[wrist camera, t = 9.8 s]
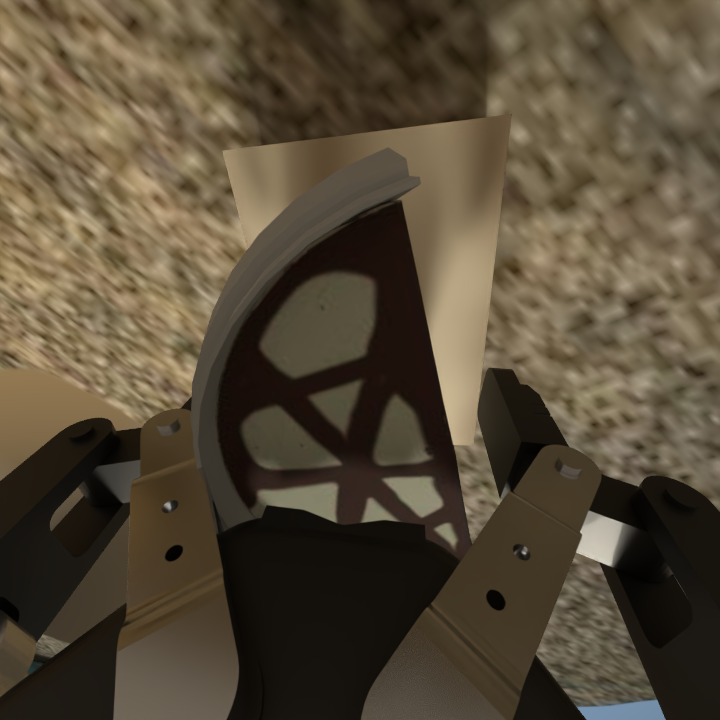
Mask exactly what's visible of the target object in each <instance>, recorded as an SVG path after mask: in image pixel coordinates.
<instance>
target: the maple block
mask: <svg viewBox="0 0 720 720" xmlns="http://www.w3.org/2000/svg"><path fill="white" fill-rule="evenodd" d="M511 116H512V114H510V115H502V116H494V117H486V118H478V119H470V120H462V121H454V122H446V123H438V124H430V125H422V126H414V127H406V128H399V129H391V130H383V131H375V132H367V133H359V134H351V135H343V136H335V137H327V138H319V139H311V140H303V141H295V142H287V143H280V144H272V145H264V146H256V147H248V148H240V149H232V150H224V151H223V155H224V159H225V163H226V167H227V170H228V174H229V178H230V182H231V186H232V190H233V194H234V197H235V201H236V205H237V209H238V213H239V217H240V221H241V224H242V228H243V232H244V236H245V240H246V244H247V248H249V247H250V246H251V244H252V243H253V241H254V240H255V239H256V237H257V236H258V235H259V233H261V232H262V231H263V230H264V229H265V228H266V227H267V226H268V225H269V224H270V223H271V222H272V221H273V220H274V219H275V218H276V217H277V216H278V215H279V214H280V213H281V212H282V211H283V210H284V209H285V208H287V207H288V206H289V205H290V204H291V203H292V202H293V201H294V200H295V199H296V198H298V197H299V196H301V195H302V194H304V193H305V192H307V191H308V190H310V189H311V188H312V187H314V186H315V185H317V184H318V183H320V182H321V181H323V180H324V179H326V178H327V177H329V176H330V175H332V174H333V173H335V172H336V171H338V170H339V169H341V168H343V167H346V166H348V165H350V164H352V163H354V162H357V161H359V160H361V159H363V158H365V157H368V156H370V155H372V154H374V153H376V152H378V151H381V150H383V149H385V148H387V147H389V148H390V149H392V150H393V151H395V152H397V153H398V154H400V155H401V156H403V157H404V158H406V160H407V165H408V171H409V176H415V177H420V181H421V184H420V185H418V186H417V187H415V188H414V189H412V190H411V191H409V192H408V193H406V194H405V195H403V196H401V197H400V198H398V199H397V200H402V204H403V209H404V214H405V218H406V223H407V228H408V232H409V237H410V242H411V246H412V251H413V256H414V260H415V265H416V270H417V274H418V279H419V284H420V289H421V294H422V299H423V304H424V309H425V314H426V319H427V324H428V329H429V333H430V338H431V343H432V348H433V353H434V358H435V363H436V368H437V373H438V377H439V382H440V387H441V392H442V397H443V402H444V406H445V411H446V415H447V419H448V424H449V428H450V432H451V437H452V441H453V445H473V443H474V434H475V426H476V417H477V409H478V400H479V391H480V383H481V374H482V365H483V357H484V348H485V340H486V331H487V322H488V314H489V305H490V297H491V288H492V279H493V271H494V262H495V254H496V245H497V236H498V228H499V219H500V210H501V202H502V193H503V185H504V176H505V167H506V159H507V150H508V142H509V133H510V124H511Z"/></svg>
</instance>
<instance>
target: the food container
mask: <svg viewBox="0 0 720 720" xmlns="http://www.w3.org/2000/svg"><path fill="white" fill-rule="evenodd" d="M420 184H421V181H420V177H415V176H409V171H408V165H407V160H406V158H404V157H403V156H401V155H400V154H398V153H397V152H395V151H393V150H392V149H390V148H389V147H387V148H385V149H383V150H381V151H378V152H376V153H374V154H372V155H370V156H368V157H365V158H363V159H361V160H359V161H357V162H354V163H352V164H350V165H348V166H346V167H343V168H341V169H339V170H338V171H336V172H335V173H333V174H332V175H330V176H329V177H327V178H326V179H324V180H323V181H321V182H320V183H318V184H317V185H315V186H314V187H312V188H311V189H310V190H308V191H307V192H305V193H304V194H302V195H301V196H299V197H298V198H296V199H295V200H294V201H293V202H292V203H291V204H290V205H289V206H288V207H287V208H285V209H284V210H283V211H282V212H281V213H280V214H279V215H278V216H277V217H276V218H275V219H274V220H273V221H272V222H271V223H270V224H269V225H268V226H267V227H266V228H265V229H264V230H263V231H262V232H261V233H259V235H258V236H257V237H256V239H255V240H254V241H253V243H252V244H251V246H250V247H249V248H248V250H247V251H246V252H245V254H244V255H243V257H242V258H241V259H240V261H239V262H238V263H237V265H236V266H235V268H234V269H233V270H232V272H231V274H230V276H229V278H228V280H227V282H226V284H225V286H224V288H223V291H222V293H221V295H220V297H219V299H218V301H217V303H216V305H215V307H214V309H213V312H212V315H211V318H210V321H209V325H208V328H207V331H206V334H205V337H204V341H203V344H202V348H201V352H200V356H199V359H198V363H197V367H196V371H195V375H194V379H193V382H192V403H191V426H192V432H193V448H194V454H195V460H196V465H197V468H201V467H203V469H204V472H205V474H206V477H207V480H208V483H209V486H210V489H211V492H212V495H213V498H214V501H215V504H216V507H217V510H218V513H219V516H220V519H221V522H222V525H223V528H224V529H225V530H227V529H229V528H231V527H233V526H235V525H237V524H240V523H243V522H245V521H249V520H253V519H257V518H262V515H263V513H264V510H265V508H266V506H267V505H270V506H278V507H286V508H294V509H302V510H306V511H308V512H311V513H313V514H316V515H318V516H321V517H323V518H326V519H328V520H331V521H333V522H336V523H338V524H342V525H347V524H355V523H363V522H371V521H379V520H390V521H398V522H406V523H414V524H422V525H425V535H426V539H428V540H431V541H433V542H435V543H437V544H439V545H440V546H442V547H444V548H445V549H447V550H448V551H450V552H451V553H452V554H453V555H455V556H456V557H457V558H458V559H459V560H462V559H463V557H464V556H465V554H466V553H467V551H468V550H469V548H470V547H471V546H472V541H471V539H470V534H469V529H468V524H467V518H466V513H465V508H464V502H463V497H462V492H461V485H460V479H459V473H458V466H457V460H456V454H455V450H454V445H453V441H452V437H451V432H450V428H449V424H448V419H447V415H446V411H445V406H444V402H443V397H442V392H441V387H440V382H439V377H438V373H437V368H436V363H435V358H434V353H433V348H432V343H431V338H430V333H429V329H428V324H427V319H426V314H425V309H424V304H423V299H422V294H421V289H420V284H419V279H418V274H417V270H416V265H415V260H414V256H413V251H412V246H411V242H410V237H409V232H408V228H407V223H406V218H405V214H404V209H403V204H402V200H397V199H398V198H400V197H401V196H403V195H405V194H406V193H408V192H409V191H411V190H412V189H414V188H415V187H417V186H418V185H420Z"/></svg>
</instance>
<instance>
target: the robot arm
mask: <svg viewBox="0 0 720 720" xmlns="http://www.w3.org/2000/svg"><path fill="white" fill-rule="evenodd" d="M191 403H192V397H191V398H190V399H189V400H188V401H187V402H186V403H185V404H184V405H183V406H182V408H181V409H171V410H167V411H164V412H161V413H159V414H157V415H155V416H153V417H152V418H150V419H149V420H148V421H147V422H146V423H145V424H144V425H143V426H142V428H136V429H129V430H121V431H116V430H115V428H114V426H113V424H112V422H111V421H110V420H108V419H105V418H92V419H87V420H84V421H80V422H78V423H75V424H73V425H71V426H69V427H67V428H65V429H64V430H63V431H61V432H60V433H58V434H57V435H56V436H55V437H53V438H52V439H51V440H50V441H49V442H47V443H46V444H45V445H44V446H42V447H41V448H40V449H39V450H38V451H36V452H35V453H34V454H33V455H31V456H30V457H29V458H28V459H27V460H26V461H24V462H23V463H22V464H21V465H19V466H18V467H17V468H16V469H14V470H13V471H12V472H11V473H10V474H8V475H7V476H6V477H5V478H4V479H2V480H1V481H0V720H586V719H585V717H584V716H583V715H582V713H581V712H580V711H579V710H578V708H577V707H576V706H575V704H574V703H573V702H572V701H571V699H570V698H569V697H568V695H567V694H566V693H565V692H564V690H563V689H562V688H561V686H560V685H559V684H558V683H557V681H556V680H555V679H554V677H553V676H552V675H551V674H550V672H549V671H548V670H547V668H546V667H545V666H544V665H543V663H542V662H541V661H540V659H539V658H538V657H537V656H536V652H537V649H538V647H539V644H540V642H541V639H542V636H543V634H544V631H545V629H546V626H547V624H548V621H549V619H550V616H551V614H552V611H553V609H554V606H555V604H556V601H557V599H558V596H559V594H560V591H561V589H562V586H563V584H564V581H565V579H566V576H567V574H568V571H569V569H570V566H571V564H572V561H573V558H574V556H575V553H576V552H577V553H579V554H582V555H584V556H587V557H589V558H591V559H594V560H596V561H599V563H600V565H601V568H602V570H603V572H604V575H605V577H606V579H607V582H608V584H609V586H610V589H611V591H612V594H613V596H614V598H615V601H616V603H617V605H618V608H619V610H620V612H621V615H622V617H623V620H624V622H625V624H626V627H627V629H628V631H629V634H630V636H631V638H632V641H633V643H634V646H635V648H636V650H637V653H638V655H639V657H640V660H641V662H642V665H643V667H644V669H645V672H646V674H647V676H648V679H649V681H650V683H651V686H652V688H653V691H654V693H655V695H656V698H657V700H658V702H659V705H660V707H661V709H662V712H663V714H664V717H665V719H666V720H720V512H719V511H718V509H717V508H716V507H715V506H714V505H713V504H712V503H711V502H710V501H709V500H708V499H707V498H706V497H705V496H704V495H702V494H701V493H700V492H698V491H696V490H695V489H693V488H692V487H690V486H688V485H686V484H684V483H682V482H680V481H677V480H674V479H671V478H668V477H663V476H649V477H647V478H645V479H644V480H643V481H642V483H641V484H640V486H639V487H638V486H635V485H632V484H629V483H625V482H622V481H619V480H616V479H613V478H610V477H607V476H605V475H602V474H601V472H600V470H599V468H598V467H597V465H596V464H595V463H594V462H593V461H592V460H591V459H590V458H589V457H587V456H586V455H584V454H583V453H581V452H579V451H578V450H575V449H573V448H570V447H569V446H568V444H567V442H566V441H565V439H564V437H563V435H562V434H561V432H560V430H559V428H558V427H557V425H556V423H555V421H554V420H553V418H552V417H550V413H549V411H548V409H547V408H546V407H545V404H544V402H543V400H542V399H541V397H540V395H539V394H538V393H537V392H535V391H534V390H533V389H532V388H531V387H529V386H528V385H523V384H520V383H519V381H518V379H517V377H516V375H515V373H514V371H513V370H512V369H500V368H488V370H487V372H486V375H485V379H484V383H483V387H482V391H481V395H480V399H479V403H478V421H479V424H480V428H481V432H482V435H483V439H484V443H485V446H486V450H487V453H488V457H489V461H490V464H491V468H492V472H493V475H494V479H495V482H496V486H497V490H498V493H499V497H500V499H503V500H502V502H501V503H500V504H499V506H498V507H497V509H496V510H495V512H494V513H493V515H492V516H491V518H490V519H489V521H488V522H487V524H486V525H485V526H484V528H483V529H482V531H481V532H480V534H479V535H478V537H477V538H476V540H475V541H474V543H473V544H472V546H471V547H470V548H469V550H468V551H467V553H466V554H465V556H464V557H463V559H462V560H459V559H458V558H457V557H456V556H455V555H453V554H452V553H451V552H450V551H448V550H447V549H445V548H444V547H442V546H440V545H439V544H437V543H435V542H433V541H431V540H428V539H426V535H425V525H422V524H414V523H406V522H398V521H390V520H379V521H371V522H363V523H355V524H347V525H342V524H338V523H336V522H333V521H331V520H328V519H326V518H323V517H321V516H318V515H316V514H313V513H311V512H308V511H306V510H302V509H294V508H286V507H278V506H270V505H267V506H266V508H265V510H264V513H263V515H262V518H257V519H253V520H249V521H245V522H243V523H240V524H237V525H235V526H233V527H231V528H229V529H227V530H225V529H224V528H223V525H222V522H221V519H220V516H219V513H218V510H217V507H216V504H215V501H214V498H213V495H212V492H211V489H210V486H209V483H208V480H207V477H206V474H205V472H204V469H203V467H201V468H197V465H196V460H195V454H194V448H193V432H192V426H191ZM77 487H78V488H79V489H80V490H81V492H82V493H83V495H84V496H83V498H81V500H80V501H79V502H78V503H77V504H76V505H75V506H74V507H73V508H72V509H71V511H70V512H69V513H68V514H67V515H66V516H65V517H64V518H63V519H62V520H61V522H60V523H59V524H58V525H57V526H56V527H55V528H54V529H53V530H52V531H50V520H51V518H52V515H53V514H54V512H55V511H56V509H57V508H58V507H59V506H60V505H61V504H62V503H63V502H64V501H65V500H66V499H67V498H68V497H69V496H70V494H72V493H73V491H75V489H76V488H77ZM129 515H130V523H129V525H130V526H129V553H128V583H127V602H126V603H125V604H124V605H122V606H121V607H120V608H118V609H117V610H116V611H114V612H113V613H112V614H110V615H109V616H108V617H106V618H105V619H104V620H103V621H101V622H99V623H98V624H97V625H96V626H94V627H93V628H92V629H90V630H89V631H87V632H86V633H85V634H83V635H82V636H81V637H79V638H78V639H77V640H75V641H74V642H73V643H71V644H70V645H68V646H67V647H66V648H64V649H63V650H62V651H60V652H59V653H58V654H56V655H55V656H54V657H52V658H51V659H50V660H48V661H47V662H46V663H44V664H43V665H41V666H40V667H39V668H37V669H36V670H35V671H33V672H32V673H31V674H30V673H29V672H28V669H29V668H30V666H31V663H32V661H33V659H34V655H35V651H36V643H37V641H38V640H39V638H40V637H41V636H42V634H43V633H44V632H45V630H46V629H47V627H48V626H49V625H50V623H51V622H52V621H53V619H54V618H55V616H56V615H57V614H58V612H59V611H60V610H61V608H62V607H63V606H64V604H65V603H66V601H67V600H68V599H69V597H70V596H71V595H72V593H73V592H74V590H75V589H76V588H77V586H78V585H79V584H80V582H81V581H82V580H83V578H84V577H85V575H86V574H87V573H88V571H89V570H90V569H91V567H92V566H93V564H94V563H95V562H96V560H97V559H98V558H99V556H100V555H101V553H102V552H103V551H104V549H105V548H106V547H107V545H108V544H109V542H110V541H111V539H112V538H113V537H114V536H115V534H116V533H117V532H118V530H119V529H120V527H121V526H122V525H123V523H124V522H125V521H126V519H127V518H128V516H129ZM673 574H674V575H673ZM674 576H675V577H676V578H675V577H674ZM676 579H677V580H676ZM677 581H678V582H679V584H680V585H679V584H678V582H677ZM680 586H681V587H682V589H683V590H682V589H681V587H680ZM683 591H684V592H683ZM684 593H685V594H686V595H685V594H684ZM686 596H687V597H686ZM687 598H688V599H687Z"/></svg>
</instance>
